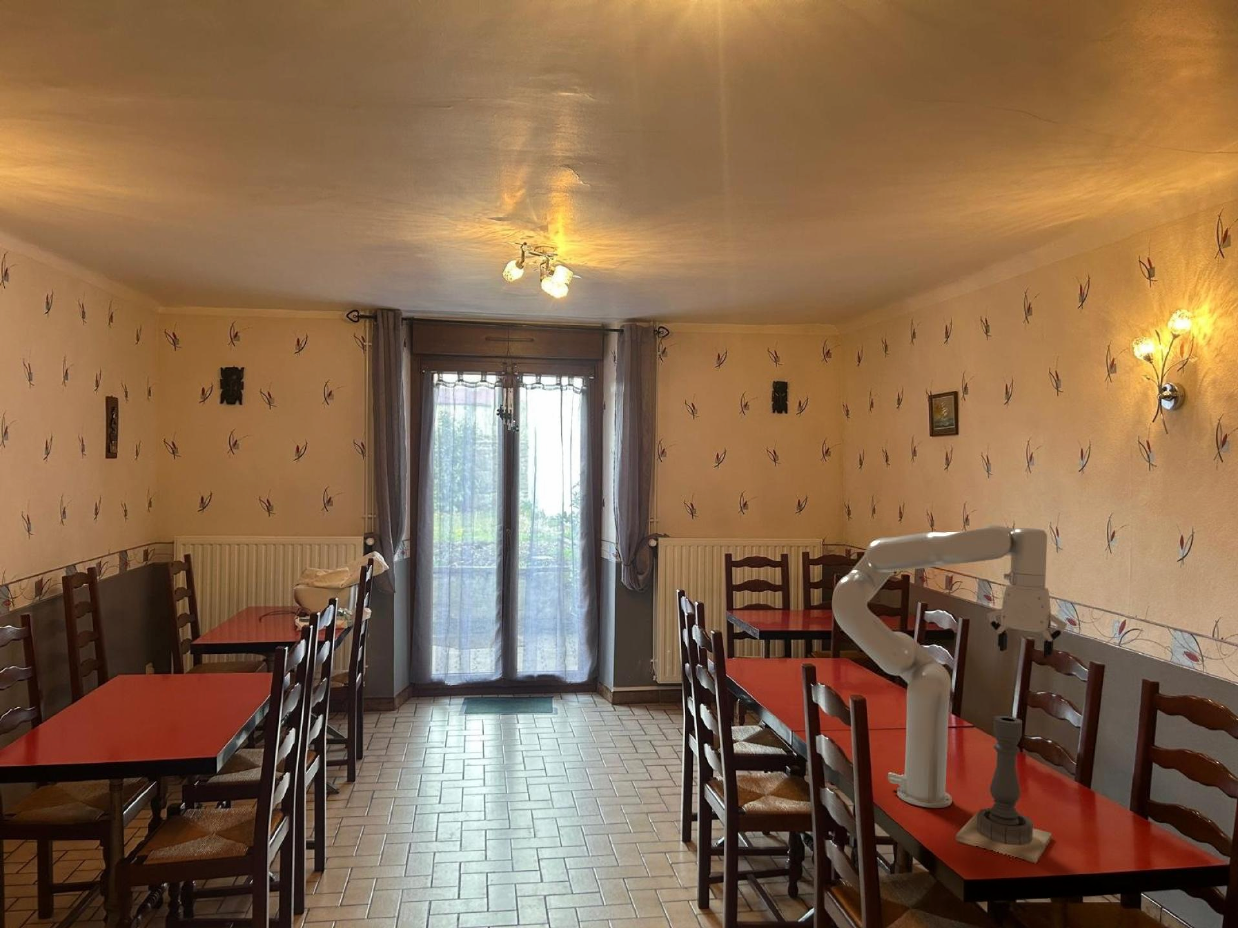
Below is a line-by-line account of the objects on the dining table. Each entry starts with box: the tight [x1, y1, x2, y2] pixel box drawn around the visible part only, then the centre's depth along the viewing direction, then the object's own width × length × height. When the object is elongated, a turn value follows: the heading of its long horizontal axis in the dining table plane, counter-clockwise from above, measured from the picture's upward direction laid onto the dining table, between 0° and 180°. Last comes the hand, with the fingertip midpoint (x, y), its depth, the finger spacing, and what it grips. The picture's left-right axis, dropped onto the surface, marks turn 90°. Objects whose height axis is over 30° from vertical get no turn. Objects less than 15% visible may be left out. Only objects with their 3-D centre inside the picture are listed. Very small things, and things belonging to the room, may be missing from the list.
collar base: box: [955, 807, 1053, 864], centre depth 189 cm, size 16×16×5 cm
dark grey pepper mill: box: [989, 715, 1023, 826], centre depth 189 cm, size 6×6×25 cm
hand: (1024, 653), depth 203 cm, fingers open, 9 cm apart
